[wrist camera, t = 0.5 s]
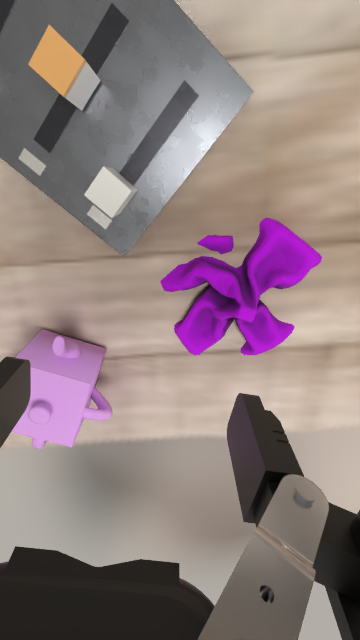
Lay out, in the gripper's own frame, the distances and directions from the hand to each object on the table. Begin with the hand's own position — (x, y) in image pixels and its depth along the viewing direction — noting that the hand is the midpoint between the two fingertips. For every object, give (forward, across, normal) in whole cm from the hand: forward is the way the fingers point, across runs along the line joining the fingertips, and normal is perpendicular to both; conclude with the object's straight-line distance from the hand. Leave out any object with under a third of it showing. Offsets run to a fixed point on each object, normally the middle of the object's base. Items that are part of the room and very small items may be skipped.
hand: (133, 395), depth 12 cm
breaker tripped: (+24, +10, -14) cm, 30 cm away
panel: (+26, +10, -14) cm, 32 cm away
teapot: (+27, +10, +17) cm, 33 cm away
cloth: (+27, -9, +3) cm, 29 cm away
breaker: (+24, +6, -6) cm, 25 cm away
